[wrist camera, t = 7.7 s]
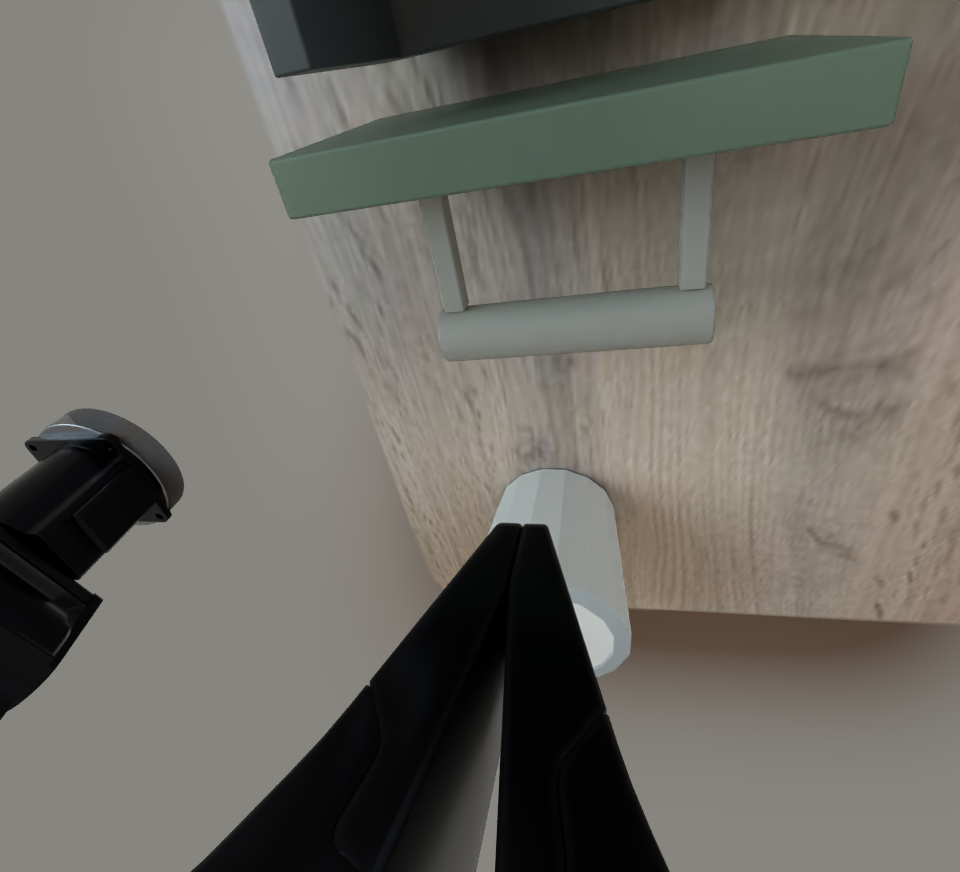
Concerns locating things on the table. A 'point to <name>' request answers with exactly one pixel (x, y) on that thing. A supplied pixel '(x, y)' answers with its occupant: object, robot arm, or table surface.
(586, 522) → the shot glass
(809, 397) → the table surface
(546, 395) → the table surface
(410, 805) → the robot arm
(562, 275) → the table surface
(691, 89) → the drawer
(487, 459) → the table surface
